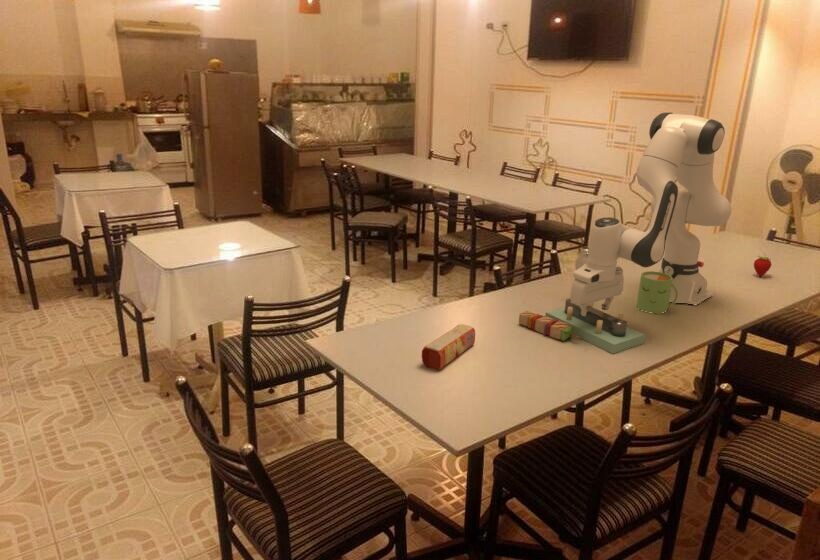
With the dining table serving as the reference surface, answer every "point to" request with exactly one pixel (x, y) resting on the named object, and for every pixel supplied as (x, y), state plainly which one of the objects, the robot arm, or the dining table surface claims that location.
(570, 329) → the skewer
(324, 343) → the dining table surface
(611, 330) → the long charcoal rail
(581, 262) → the plastic bottle
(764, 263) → the strawberry
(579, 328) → the peg rack
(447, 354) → the snack package
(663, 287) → the mug
